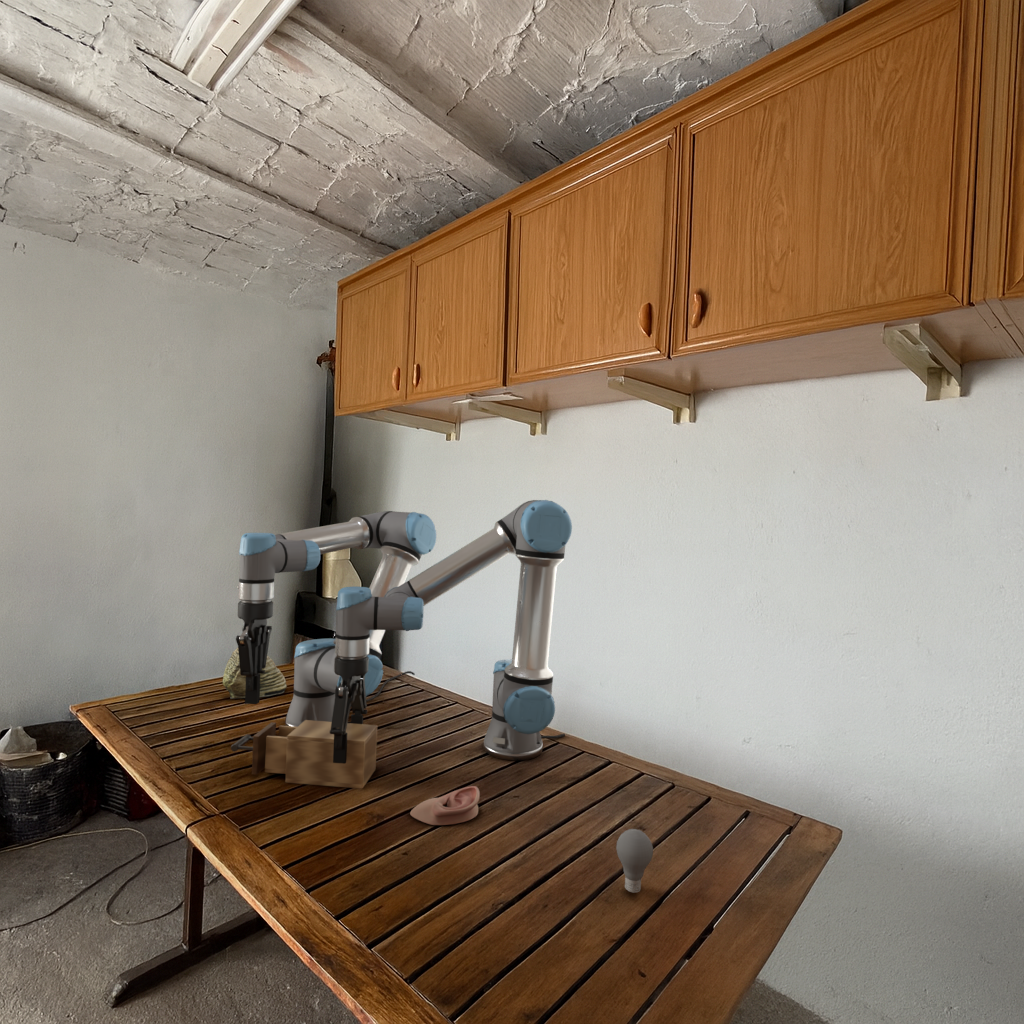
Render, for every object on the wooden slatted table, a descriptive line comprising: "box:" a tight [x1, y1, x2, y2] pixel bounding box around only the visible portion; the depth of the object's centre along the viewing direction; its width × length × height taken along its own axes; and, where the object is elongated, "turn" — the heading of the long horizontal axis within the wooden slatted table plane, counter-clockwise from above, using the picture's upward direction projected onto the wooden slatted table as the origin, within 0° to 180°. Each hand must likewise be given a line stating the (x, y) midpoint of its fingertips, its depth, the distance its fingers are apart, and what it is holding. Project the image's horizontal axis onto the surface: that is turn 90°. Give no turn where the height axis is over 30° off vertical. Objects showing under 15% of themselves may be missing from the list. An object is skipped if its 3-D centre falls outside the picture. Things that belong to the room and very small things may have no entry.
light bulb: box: [615, 828, 654, 894], centre depth 106 cm, size 6×6×10 cm
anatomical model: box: [409, 785, 481, 826], centre depth 129 cm, size 13×4×12 cm
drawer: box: [230, 722, 297, 776], centre depth 145 cm, size 22×9×9 cm, turn 86°
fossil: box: [222, 647, 288, 699], centre depth 198 cm, size 9×18×15 cm, turn 132°
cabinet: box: [285, 720, 378, 789], centre depth 144 cm, size 17×10×10 cm, turn 86°
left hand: (252, 702), depth 145 cm, fingers closed
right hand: (348, 752), depth 144 cm, fingers open, 11 cm apart
